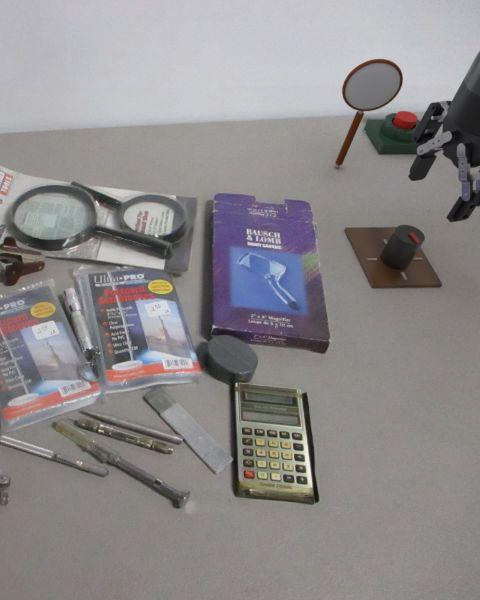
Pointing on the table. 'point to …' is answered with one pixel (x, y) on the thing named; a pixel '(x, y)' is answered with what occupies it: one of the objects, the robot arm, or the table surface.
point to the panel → (379, 274)
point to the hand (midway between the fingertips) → (434, 198)
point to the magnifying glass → (368, 93)
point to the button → (405, 120)
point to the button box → (390, 136)
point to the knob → (402, 246)
